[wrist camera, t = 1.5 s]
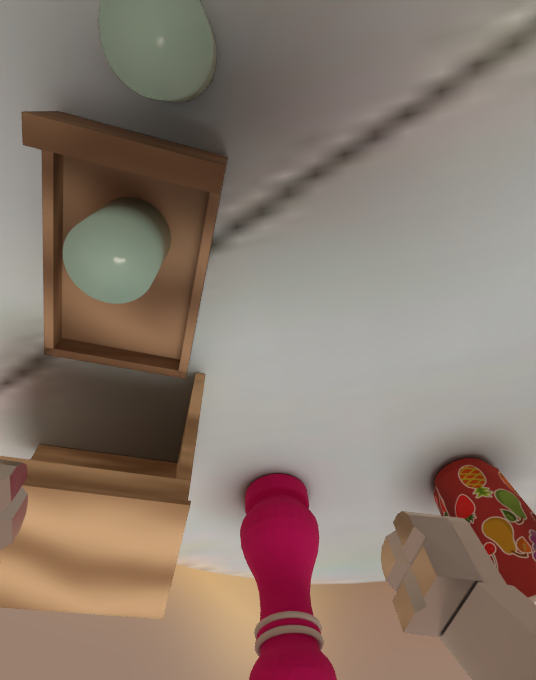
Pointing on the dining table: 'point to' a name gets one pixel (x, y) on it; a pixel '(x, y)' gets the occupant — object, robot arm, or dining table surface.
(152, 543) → the counter cubby
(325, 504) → the dining table surface
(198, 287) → the tray
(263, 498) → the pepper mill
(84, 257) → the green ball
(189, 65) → the pale green rounded cylinder
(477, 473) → the smoothie
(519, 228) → the dining table surface
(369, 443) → the dining table surface
